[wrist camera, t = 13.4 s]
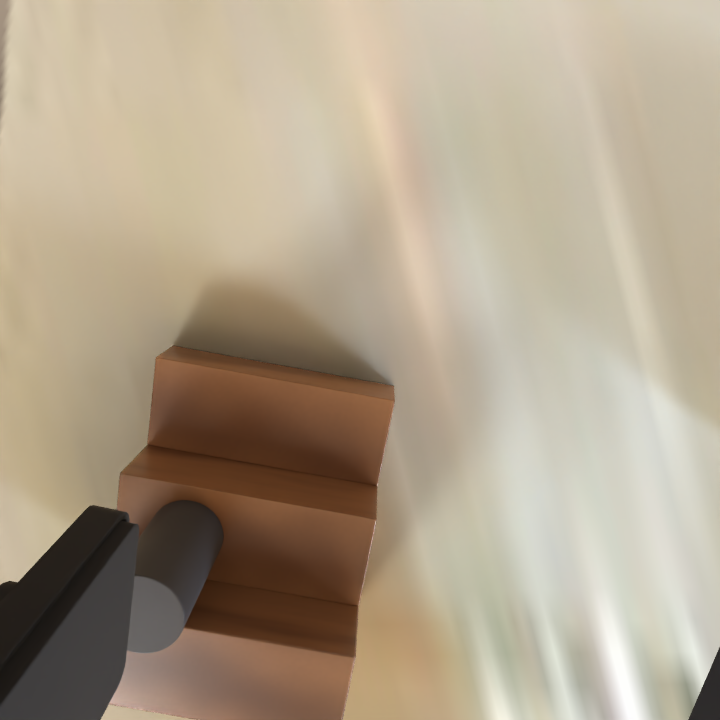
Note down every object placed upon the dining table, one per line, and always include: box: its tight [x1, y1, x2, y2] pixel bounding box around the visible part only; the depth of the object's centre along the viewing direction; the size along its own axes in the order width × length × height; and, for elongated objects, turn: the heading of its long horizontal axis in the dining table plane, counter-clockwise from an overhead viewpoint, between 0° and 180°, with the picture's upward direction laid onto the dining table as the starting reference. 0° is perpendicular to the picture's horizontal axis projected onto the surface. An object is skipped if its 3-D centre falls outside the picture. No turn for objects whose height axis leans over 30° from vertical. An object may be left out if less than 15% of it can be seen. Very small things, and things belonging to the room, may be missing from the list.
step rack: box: [109, 346, 395, 720], centre depth 36 cm, size 16×14×11 cm
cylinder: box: [127, 500, 224, 653], centre depth 31 cm, size 4×4×7 cm
